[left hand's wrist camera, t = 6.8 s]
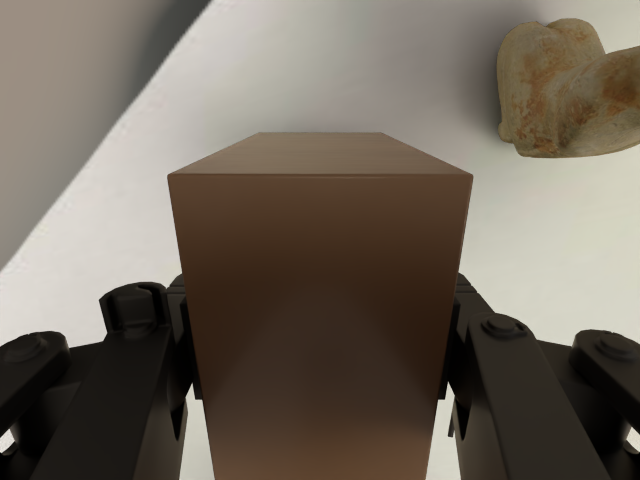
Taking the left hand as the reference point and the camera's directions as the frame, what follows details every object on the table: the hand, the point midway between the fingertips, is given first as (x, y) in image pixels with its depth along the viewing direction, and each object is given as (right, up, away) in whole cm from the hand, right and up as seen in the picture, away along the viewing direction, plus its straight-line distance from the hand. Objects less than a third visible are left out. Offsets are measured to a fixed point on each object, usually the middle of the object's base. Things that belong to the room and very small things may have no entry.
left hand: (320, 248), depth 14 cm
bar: (0, -12, +5) cm, 13 cm away
